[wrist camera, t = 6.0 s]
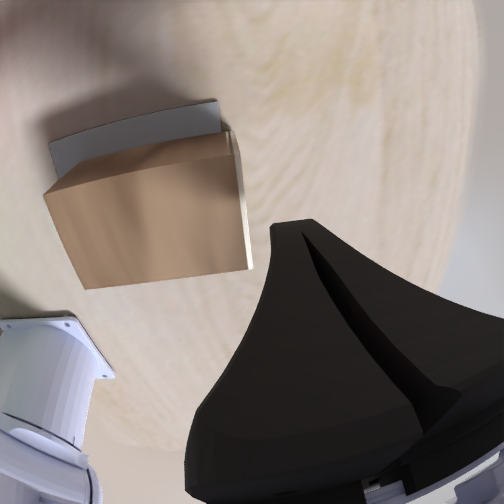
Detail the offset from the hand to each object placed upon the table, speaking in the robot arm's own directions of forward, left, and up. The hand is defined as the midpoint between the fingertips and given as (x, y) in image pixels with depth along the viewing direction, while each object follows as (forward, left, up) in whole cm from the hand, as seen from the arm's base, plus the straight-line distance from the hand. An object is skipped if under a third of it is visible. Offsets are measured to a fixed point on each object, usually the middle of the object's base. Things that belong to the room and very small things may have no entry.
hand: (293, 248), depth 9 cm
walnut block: (-1, 0, -4) cm, 5 cm away
